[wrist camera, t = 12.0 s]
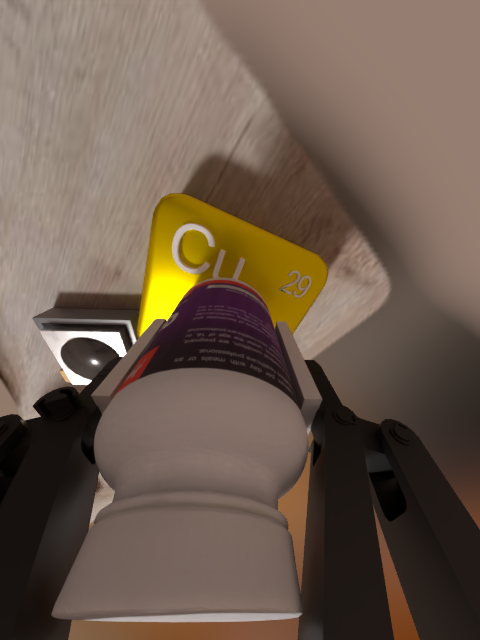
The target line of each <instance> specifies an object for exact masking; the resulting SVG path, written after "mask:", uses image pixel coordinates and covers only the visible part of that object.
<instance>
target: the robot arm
mask: <svg viewBox="0 0 480 640" xmlns="http://www.w3.org/2000/svg"><path fill="white" fill-rule="evenodd" d="M165 322H166V319H164V318H155V319H154V321H153V322H152V323H151V324H150V325H149V327H148V328H147V329H146V330H145V331H144V333H143V334H142V335H141V336H140V337H139V339H138V340H137V341H136V342H135V343H134V345H133V346H132V347H131V348H130V349H129V351H128V352H127V353H126V354H125V355H124V356H117V357H115V358H114V359H112V360H111V361H109V362H108V363H107V364H106V365H105V366H104V367H103V369H102V371H100V372H99V373H98V374H97V375H96V377H94V378H93V380H92V381H91V382H90V383H89V384H88V385H87V386H86V387H85V388H84V390H83V391H82V392H81V393H80V394H79V393H78V392H77V390H76V389H75V388H73V387H62V388H59V389H56V390H53V391H51V392H49V393H47V394H46V395H44V396H43V397H41V398H40V399H39V400H37V402H36V403H35V404H34V405H33V407H34V409H35V410H36V411H37V412H38V413H39V415H40V416H41V417H38V418H34V419H30V420H26V421H24V420H23V419H22V418H21V417H20V416H19V415H13V414H11V415H7V416H3V417H0V640H68V637H69V632H70V627H71V621H72V620H68V619H58V618H54V617H53V616H52V615H51V614H52V611H53V608H54V605H55V603H56V601H57V599H58V596H59V594H60V592H61V590H62V588H63V586H64V583H65V581H66V579H67V577H68V575H69V573H70V570H71V568H72V566H73V564H74V562H75V560H76V557H77V555H78V553H79V551H80V549H81V546H82V544H83V542H84V540H85V537H86V535H87V533H88V529H89V524H90V518H91V513H92V508H93V502H94V497H95V491H96V486H97V481H98V475H99V469H98V467H97V464H96V461H95V454H94V439H95V433H96V429H97V426H98V424H99V421H100V419H101V417H102V414H103V412H104V411H105V409H106V408H107V406H108V405H109V403H110V402H111V400H112V399H113V397H114V396H115V394H116V393H117V391H118V390H119V389H120V387H121V386H122V384H123V383H124V381H125V380H126V379H127V377H128V376H129V374H130V373H131V372H132V370H133V369H134V367H135V366H136V364H137V363H138V362H139V360H140V359H141V357H142V356H143V354H144V353H145V351H146V350H147V349H148V347H149V346H150V344H151V343H152V341H153V340H154V338H155V337H156V335H157V334H158V332H159V331H160V329H161V328H162V327H163V325H164V324H165ZM275 332H276V335H277V338H278V341H279V344H280V347H281V351H282V354H283V357H284V360H285V363H286V366H287V369H288V373H289V376H290V379H291V382H292V385H293V388H294V391H295V394H296V397H297V401H298V404H299V406H300V409H301V412H302V415H303V418H304V423H305V426H306V429H307V435H308V434H309V431H310V429H311V431H312V433H313V437H314V439H313V441H312V443H311V446H310V448H309V452H311V464H310V477H309V491H308V504H307V518H306V533H305V545H304V560H303V573H302V586H301V600H302V608H303V611H302V615H300V616H299V628H298V640H394V636H393V630H392V624H391V617H390V611H389V605H388V599H387V592H386V586H385V579H384V573H383V568H382V561H381V555H380V548H379V541H378V535H377V529H376V523H375V516H374V510H373V505H374V508H375V511H376V514H377V517H378V520H379V523H380V526H381V528H382V531H383V534H384V537H385V540H386V543H387V546H388V549H389V552H390V555H391V558H392V560H393V563H394V566H395V569H396V572H397V575H398V577H399V581H400V583H401V586H402V589H403V592H404V595H405V598H406V601H407V604H408V606H409V610H410V612H411V615H412V618H413V621H414V623H415V626H416V630H417V632H418V636H419V638H420V640H480V529H479V528H478V526H477V525H476V523H475V522H474V520H473V519H472V517H471V516H470V514H469V513H468V511H467V510H466V508H465V507H464V505H463V504H462V502H461V501H460V499H459V498H458V497H457V495H456V493H455V492H454V490H453V489H452V487H451V486H450V484H449V483H448V481H447V480H446V478H445V476H444V475H443V474H442V472H441V470H440V469H439V468H438V466H437V465H436V463H435V462H434V460H433V458H432V457H431V455H430V454H429V452H428V451H427V449H426V448H425V446H424V445H423V443H422V442H421V440H420V439H419V437H417V435H416V434H415V433H414V432H413V431H412V430H411V429H410V428H408V427H407V426H406V425H404V424H402V423H400V422H398V421H395V420H392V419H385V420H384V421H382V422H381V424H380V425H379V424H376V423H373V422H370V421H366V420H363V419H360V418H358V417H357V416H356V415H355V414H354V412H353V411H351V410H350V409H349V408H347V407H345V406H343V405H342V403H341V402H340V400H339V398H338V396H337V395H336V393H335V391H334V389H333V387H332V386H331V384H330V382H329V381H328V379H327V377H326V375H325V373H324V371H323V369H322V368H321V366H320V365H319V364H318V363H316V362H315V361H314V360H304V359H303V357H302V354H301V352H300V350H299V348H298V346H297V344H296V342H295V339H294V337H293V335H292V333H291V331H290V329H289V326H288V324H287V322H276V326H275Z"/></svg>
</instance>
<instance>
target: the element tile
mask: <svg viewBox="0 0 480 640" xmlns="http://www.w3.org/2000/svg"><path fill="white" fill-rule="evenodd" d="M327 277H328V268H327V264H326V263H325V261H324V260H323V259H322V258H321V257H320V256H319V255H317V254H315V253H313V252H311V251H309V250H307V249H305V248H302V247H300V246H298V245H296V244H294V243H292V242H289V241H287V240H285V239H283V238H281V237H279V236H276V235H274V234H272V233H270V232H268V231H266V230H263V229H261V228H259V227H257V226H255V225H252V224H250V223H248V222H246V221H244V220H242V219H239V218H237V217H235V216H233V215H231V214H229V213H226V212H224V211H222V210H220V209H218V208H216V207H213V206H211V205H209V204H207V203H205V202H203V201H200V200H198V199H196V198H194V197H192V196H189V195H185V194H182V193H170V194H168V195H167V196H165V197H163V198H161V200H160V202H159V203H158V205H157V206H156V208H155V210H154V213H153V220H152V227H151V234H150V241H149V248H148V255H147V262H146V269H145V276H144V284H143V291H142V298H141V305H140V312H139V319H138V326H137V334H138V337H140V336H141V335H142V334H143V333H144V331H145V330H146V329H147V328H148V327H149V325H150V324H151V323H152V322H153V321H154V319H155V318H164V319H166V321H167V319H168V318H169V316H170V315H171V313H172V312H173V311H174V309H175V308H176V306H177V304H178V303H179V302H180V300H181V299H182V297H183V296H184V295H185V294H186V292H187V291H188V290H189V289H190V288H192V287H193V286H194V285H196V284H198V283H200V282H202V281H204V280H207V279H211V278H232V279H237V280H239V281H242V282H244V283H246V284H248V285H250V286H251V287H252V288H254V289H255V290H256V291H257V292H258V293H259V294H260V295H261V296H262V298H263V299H264V301H265V303H266V305H267V307H268V310H269V313H270V316H271V319H272V322H273V326H274V329H275V326H276V322H287V324H288V326H289V329H290V331H291V333H292V335H293V333H294V332H295V330H296V329H297V327H298V326H299V324H300V323H301V321H302V320H303V318H304V316H305V315H306V313H307V312H308V310H309V309H310V307H311V306H312V304H313V303H314V301H315V300H316V298H317V297H318V295H319V294H320V292H321V291H322V289H323V287H324V286H325V284H326V281H327Z"/></svg>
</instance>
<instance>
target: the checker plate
mask: <svg viewBox="0 0 480 640" xmlns="http://www.w3.org/2000/svg"><path fill="white" fill-rule="evenodd" d="M39 331H40V333H41V334H42V336H43V337H44V339H45V341H46V342H47V344H48V346H49V347H50V349H51V350H52V352H53V354H54V355H55V357H56V359H57V360H58V362H59V364H60V365H61V367H62V368H63V370H64V372H65V373H66V375H67V377H68V378H69V380H70V381H71V383H72V385H88V384H89V383H90V382H91V381H92V380H93V378H94V377H96V375H97V374H98V373H99V372H100V371H102V369H103V367H104V366H105V365H106V364H107V363H108V362H109V361H111V360H112V359H114V358H115V357H117V356H124V355H125V354H126V353H127V352H128V351H129V349H130V348H131V347H132V346H133V345H132V342H131V339H130V336H129V333H128V330H127V327H126V325H101V324H61V323H52V324H50V325H48V326H47V327H45V328H43V329H41V330H39Z"/></svg>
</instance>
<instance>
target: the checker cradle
mask: <svg viewBox="0 0 480 640" xmlns="http://www.w3.org/2000/svg"><path fill="white" fill-rule="evenodd" d="M139 312H140V310H116V309H79V308H51V309H49V310H47V311H45V312H43V313H41V314H39V315H37V316H35V317H33V320H34V322H35V323H36V325H37V327H38V328H39V330H41V329H43V328H45V327H47V326H48V325H50V324H52V323H61V324H101V325H126V327H127V330H128V333H129V336H130V339H131V342H132V345H134V343H135V342H136V341H137V340H138V339H139V337H138V334H137V326H138V319H139ZM59 371H60V373H61V374H62V376H63V378H64V379H65V381H66V382H71V381H70V380H69V378H68V377H67V375H66V373H65V372H64V370H63V368H62V369H61V370H59Z"/></svg>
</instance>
